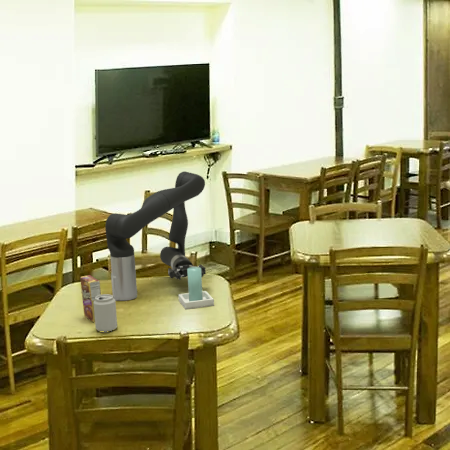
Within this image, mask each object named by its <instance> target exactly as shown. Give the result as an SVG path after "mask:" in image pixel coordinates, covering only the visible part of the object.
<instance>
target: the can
mask: <svg viewBox="0 0 450 450" xmlns="http://www.w3.org/2000/svg"><path fill="white" fill-rule="evenodd" d="M93 303H94V315H95V324H94V325H95V326H94V327H95V329H96V330H97V331H98V332H99V331H104V332H103V333H108V332H107V331H111V332H113V331H112V330H114V329H115V330H116V329H117V327H118V316H117V305H116V300H115V299H114V298H113V294H107V293H106V294H105V293H104V294H101V295H98V296H96V297H95V301H94V302H93ZM115 330H114V331H115Z"/></svg>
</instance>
